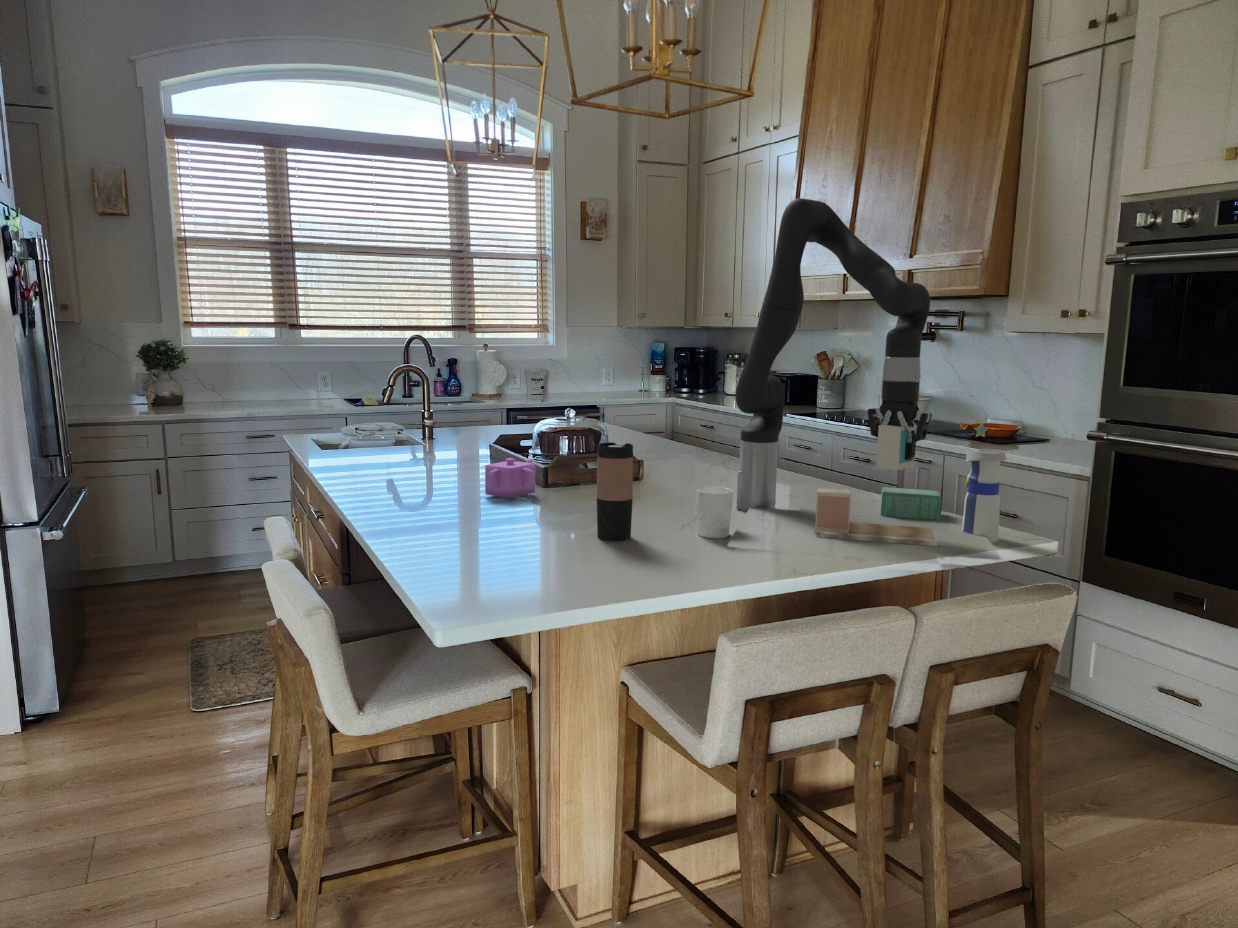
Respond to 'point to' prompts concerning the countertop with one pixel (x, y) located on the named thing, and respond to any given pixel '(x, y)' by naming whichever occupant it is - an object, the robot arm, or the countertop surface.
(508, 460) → the teapot
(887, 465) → the carton
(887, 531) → the board
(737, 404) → the robot arm
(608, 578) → the countertop surface
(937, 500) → the box
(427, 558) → the countertop surface
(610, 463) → the travel mug
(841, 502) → the faced carton
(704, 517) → the white cup
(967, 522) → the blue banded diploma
